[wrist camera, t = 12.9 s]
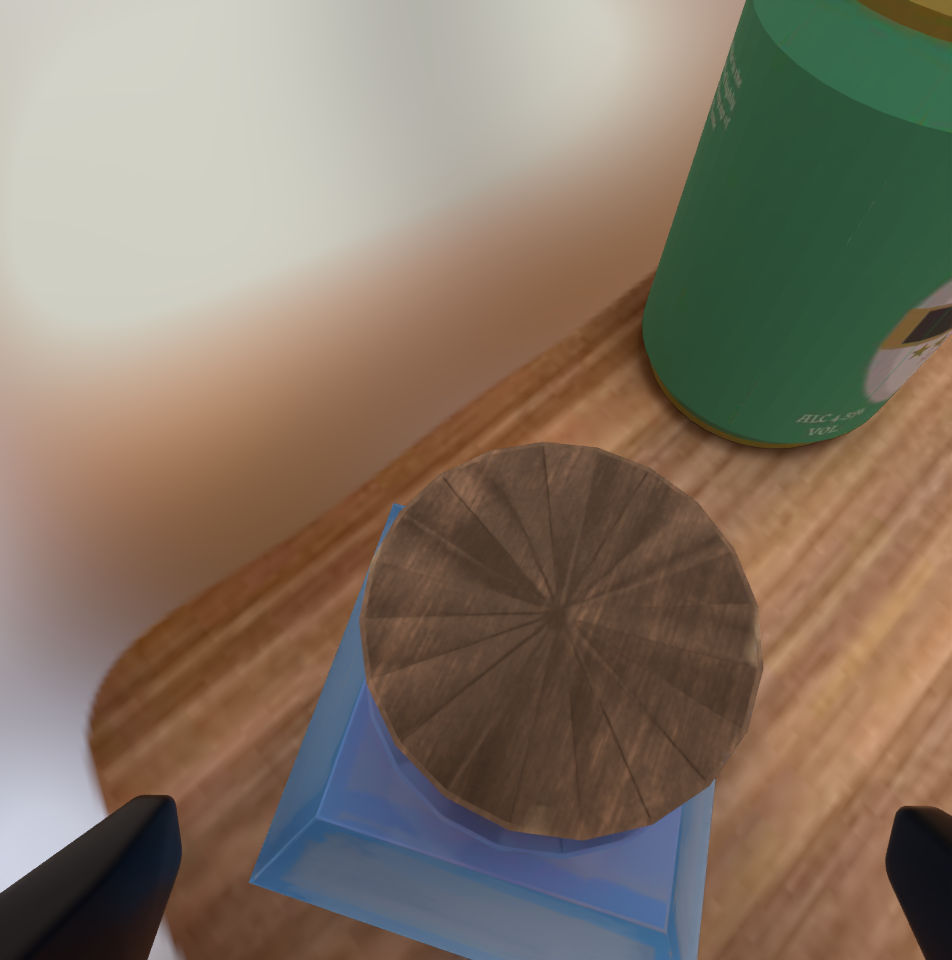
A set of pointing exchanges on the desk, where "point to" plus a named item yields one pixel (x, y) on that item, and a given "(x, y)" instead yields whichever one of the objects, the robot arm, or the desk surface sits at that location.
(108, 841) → the robot arm
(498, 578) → the perfume bottle
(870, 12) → the beverage can
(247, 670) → the desk surface
